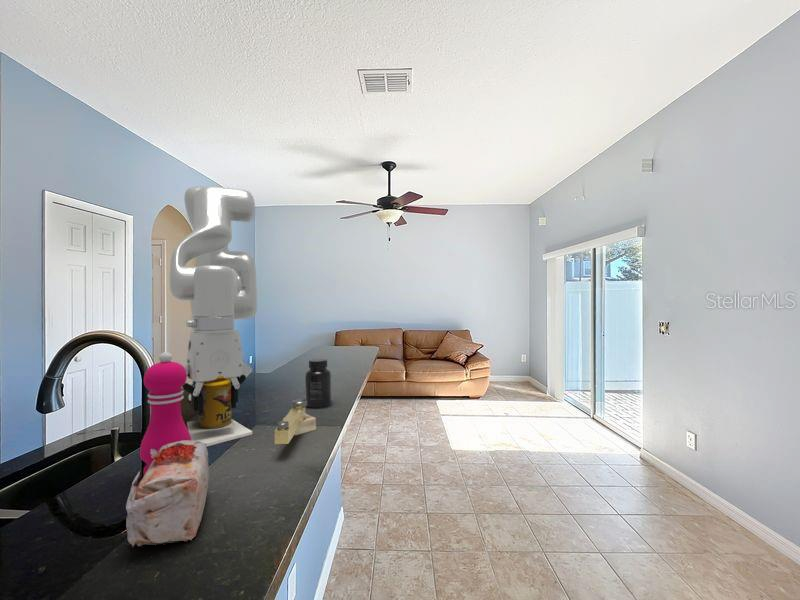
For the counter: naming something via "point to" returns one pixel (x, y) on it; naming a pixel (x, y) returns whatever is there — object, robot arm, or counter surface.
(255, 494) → the counter surface
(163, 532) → the food item
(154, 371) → the pepper mill
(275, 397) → the counter surface
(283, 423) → the lever
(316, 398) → the supplement bottle
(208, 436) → the plate
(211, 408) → the condiment
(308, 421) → the block
